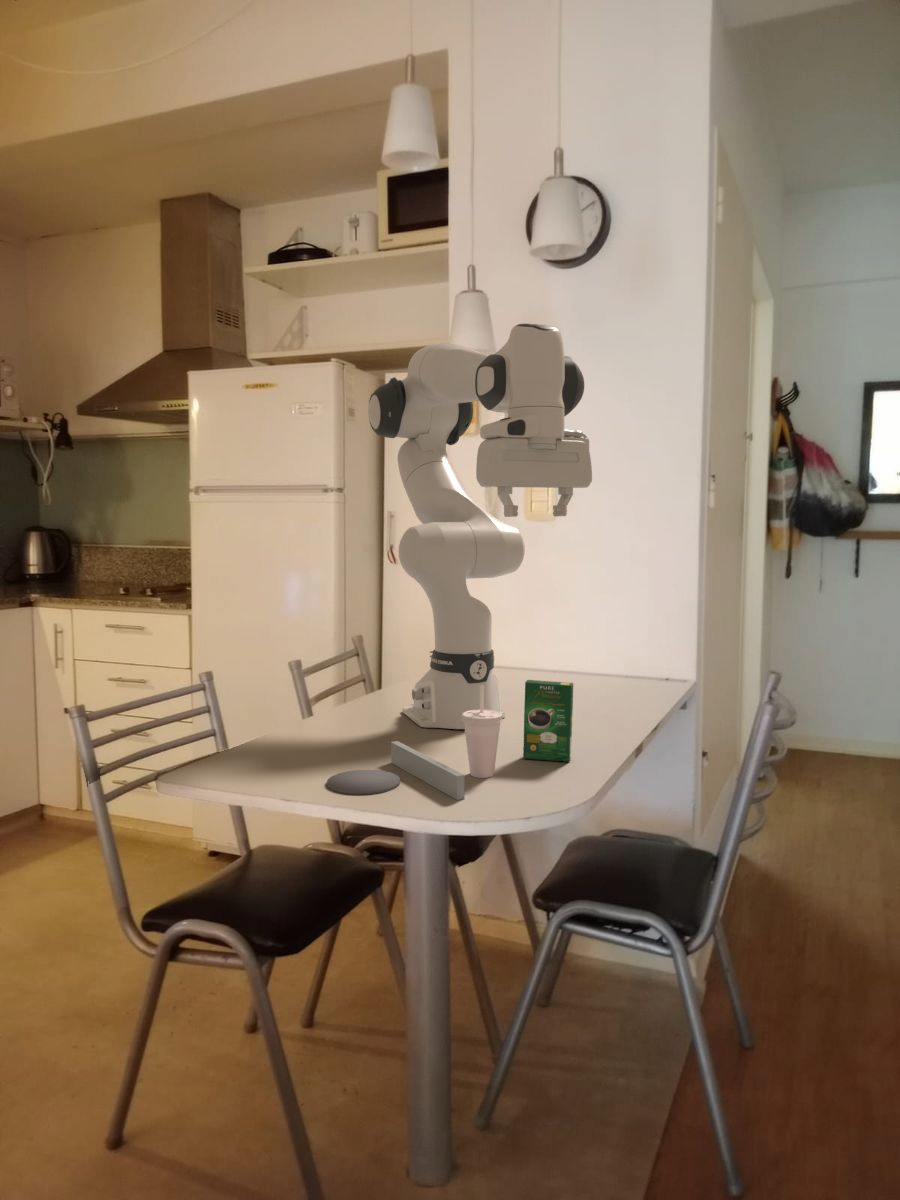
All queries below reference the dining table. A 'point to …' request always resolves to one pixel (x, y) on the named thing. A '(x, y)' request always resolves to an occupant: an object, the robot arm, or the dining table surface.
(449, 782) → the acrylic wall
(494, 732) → the smoothie
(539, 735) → the coffee box
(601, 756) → the dining table surface
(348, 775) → the pad
